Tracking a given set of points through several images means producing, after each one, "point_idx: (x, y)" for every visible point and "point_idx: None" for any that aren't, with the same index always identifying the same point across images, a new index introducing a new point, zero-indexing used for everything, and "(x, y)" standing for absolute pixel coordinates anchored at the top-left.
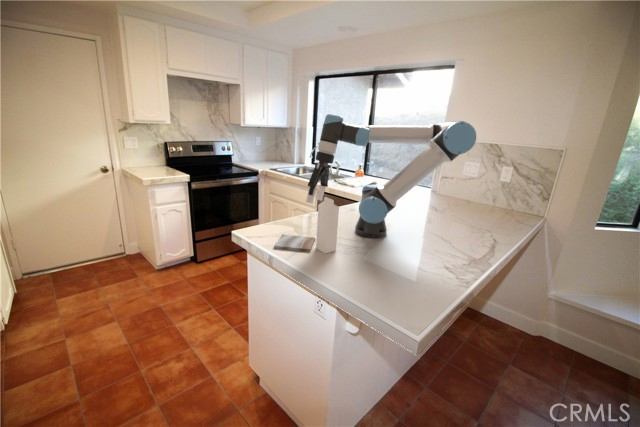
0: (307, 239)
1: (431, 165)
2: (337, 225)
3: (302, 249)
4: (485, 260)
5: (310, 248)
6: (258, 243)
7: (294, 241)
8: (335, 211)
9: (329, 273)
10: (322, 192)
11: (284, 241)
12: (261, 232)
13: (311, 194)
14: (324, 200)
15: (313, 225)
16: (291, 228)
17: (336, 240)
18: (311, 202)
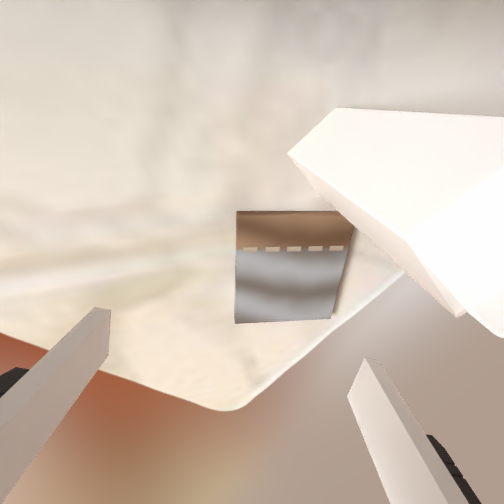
0: (264, 240)
1: None
2: (416, 113)
3: (348, 239)
4: None
5: None
6: (296, 352)
7: (290, 277)
8: None
9: None
10: (56, 381)
11: (295, 303)
12: (213, 370)
13: (438, 447)
14: (473, 308)
15: (50, 244)
16: (138, 312)
17: (360, 109)
18: (378, 370)
